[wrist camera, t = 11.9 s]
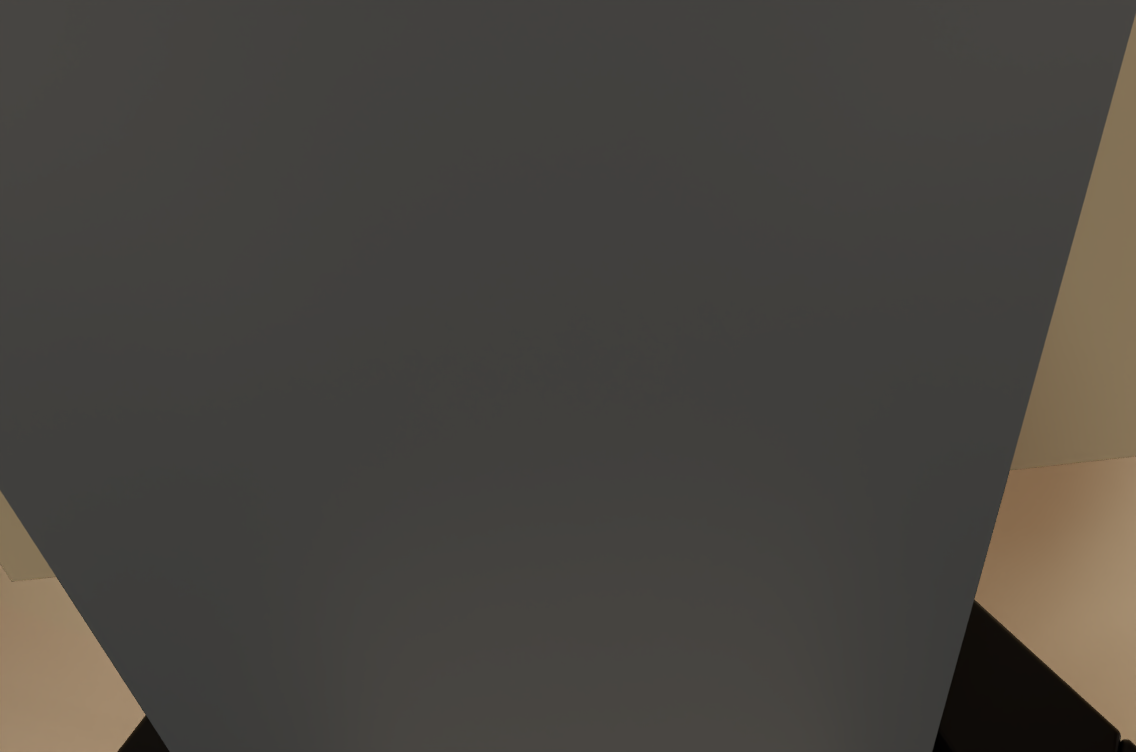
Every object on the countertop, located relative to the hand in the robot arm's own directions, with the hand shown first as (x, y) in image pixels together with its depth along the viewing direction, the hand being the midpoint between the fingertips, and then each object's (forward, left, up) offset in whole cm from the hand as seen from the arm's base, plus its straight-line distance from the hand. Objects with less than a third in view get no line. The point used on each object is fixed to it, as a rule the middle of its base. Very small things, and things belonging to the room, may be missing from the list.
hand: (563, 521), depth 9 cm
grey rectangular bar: (0, 0, -1) cm, 1 cm away
